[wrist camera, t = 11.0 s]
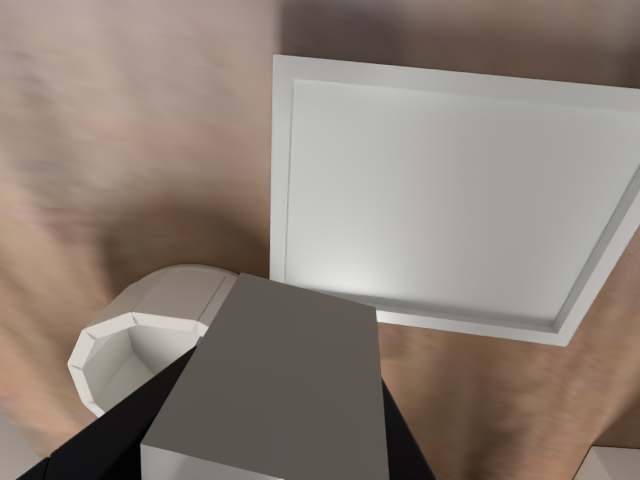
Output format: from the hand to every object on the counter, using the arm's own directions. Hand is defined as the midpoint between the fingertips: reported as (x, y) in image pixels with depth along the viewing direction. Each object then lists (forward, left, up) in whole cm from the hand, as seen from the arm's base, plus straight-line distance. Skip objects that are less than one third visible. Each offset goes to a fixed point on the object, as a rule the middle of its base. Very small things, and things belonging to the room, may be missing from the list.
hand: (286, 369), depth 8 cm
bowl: (+7, +11, -11) cm, 17 cm away
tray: (-6, -1, -11) cm, 12 cm away
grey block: (0, 0, -1) cm, 1 cm away
